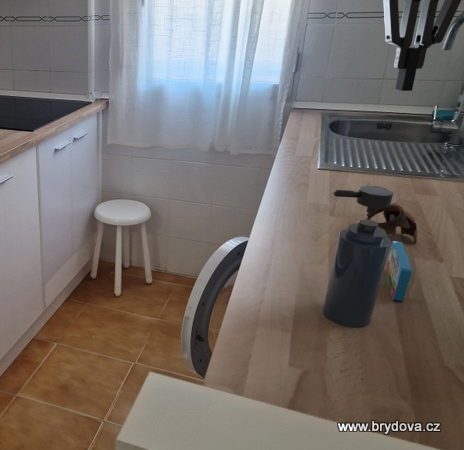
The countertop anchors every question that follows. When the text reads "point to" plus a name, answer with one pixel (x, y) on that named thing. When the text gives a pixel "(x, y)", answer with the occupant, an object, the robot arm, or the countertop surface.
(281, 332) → the countertop surface
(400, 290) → the flat blue box
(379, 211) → the brown arched figure
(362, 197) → the pump head
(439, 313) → the countertop surface
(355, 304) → the dispenser
